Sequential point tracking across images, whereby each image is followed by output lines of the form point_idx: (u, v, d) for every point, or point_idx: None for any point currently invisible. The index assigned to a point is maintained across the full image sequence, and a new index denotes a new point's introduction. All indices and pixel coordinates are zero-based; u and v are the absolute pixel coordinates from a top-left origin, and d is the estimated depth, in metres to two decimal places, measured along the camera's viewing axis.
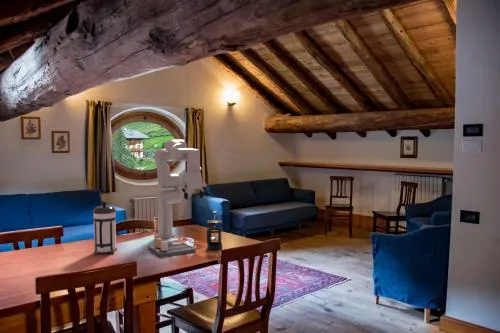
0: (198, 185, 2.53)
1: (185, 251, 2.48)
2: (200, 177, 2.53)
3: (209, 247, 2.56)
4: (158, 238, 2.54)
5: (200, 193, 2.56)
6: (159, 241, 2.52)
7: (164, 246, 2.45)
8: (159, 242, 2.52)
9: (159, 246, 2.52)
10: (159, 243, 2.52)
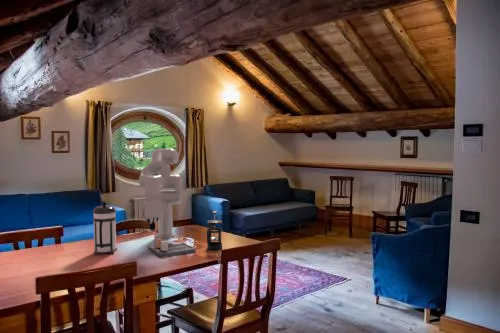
0: (157, 214, 2.41)
1: (185, 251, 2.48)
2: (159, 205, 2.42)
3: (209, 247, 2.56)
4: (158, 238, 2.54)
5: None
6: (159, 241, 2.52)
7: (164, 246, 2.45)
8: (159, 242, 2.52)
9: (159, 246, 2.52)
10: (159, 243, 2.52)
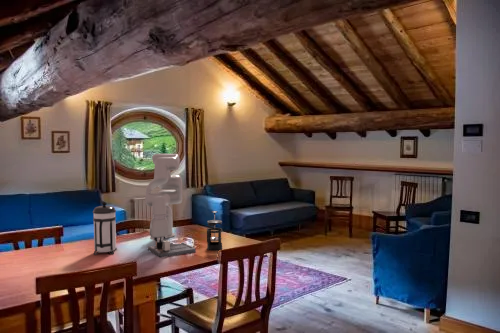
0: (164, 233, 2.45)
1: (185, 251, 2.48)
2: (166, 224, 2.45)
3: (209, 247, 2.56)
4: None
5: None
6: None
7: (166, 246, 2.46)
8: None
9: None
10: None
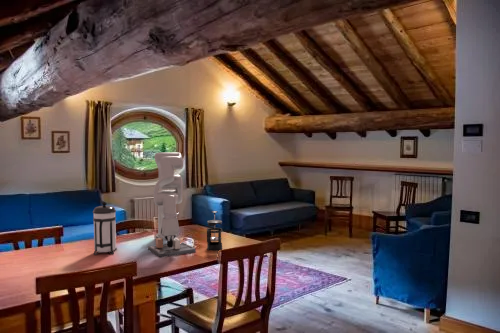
0: (174, 231, 2.48)
1: (185, 251, 2.48)
2: (176, 223, 2.48)
3: (209, 247, 2.56)
4: (158, 238, 2.54)
5: None
6: (159, 241, 2.52)
7: (176, 244, 2.49)
8: (159, 242, 2.52)
9: (159, 246, 2.52)
10: (159, 243, 2.52)
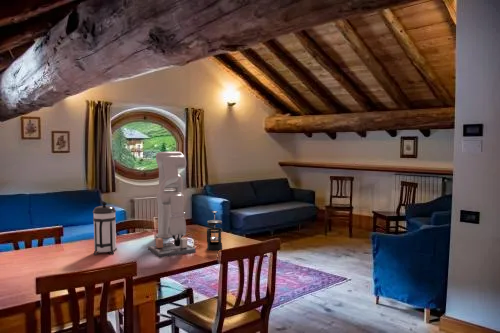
0: (182, 230, 2.51)
1: (185, 251, 2.48)
2: (184, 222, 2.51)
3: (209, 247, 2.56)
4: (158, 238, 2.54)
5: None
6: (159, 241, 2.52)
7: (183, 243, 2.52)
8: (159, 242, 2.52)
9: (159, 246, 2.52)
10: (159, 243, 2.52)
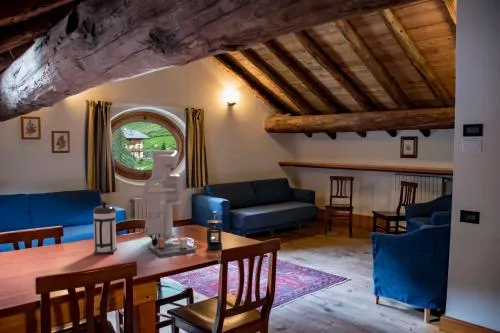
0: (159, 230, 2.51)
1: (185, 251, 2.48)
2: (161, 222, 2.52)
3: (209, 247, 2.56)
4: (160, 238, 2.55)
5: None
6: (161, 241, 2.53)
7: (183, 243, 2.52)
8: (161, 242, 2.53)
9: (161, 246, 2.53)
10: (161, 243, 2.53)
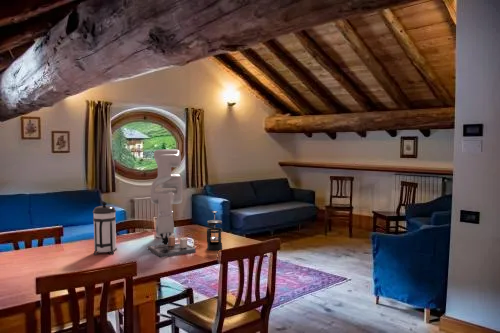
0: (169, 229, 2.55)
1: (185, 251, 2.48)
2: (171, 221, 2.55)
3: (209, 247, 2.56)
4: (170, 236, 2.58)
5: None
6: (171, 239, 2.56)
7: (183, 243, 2.52)
8: (171, 240, 2.56)
9: (171, 244, 2.56)
10: (171, 241, 2.56)
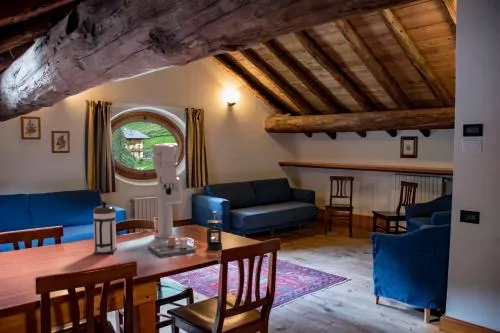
0: (173, 180, 2.64)
1: (185, 251, 2.48)
2: (175, 172, 2.64)
3: (209, 247, 2.56)
4: (171, 236, 2.59)
5: None
6: (172, 239, 2.56)
7: (183, 243, 2.52)
8: (172, 240, 2.56)
9: (172, 244, 2.56)
10: (172, 241, 2.56)
